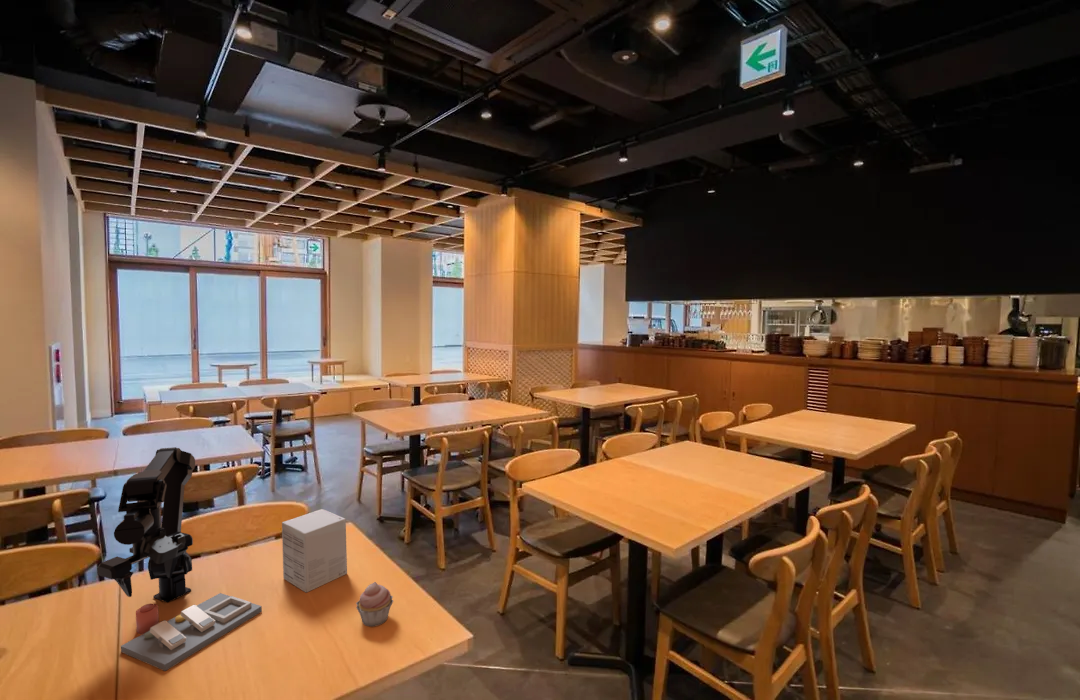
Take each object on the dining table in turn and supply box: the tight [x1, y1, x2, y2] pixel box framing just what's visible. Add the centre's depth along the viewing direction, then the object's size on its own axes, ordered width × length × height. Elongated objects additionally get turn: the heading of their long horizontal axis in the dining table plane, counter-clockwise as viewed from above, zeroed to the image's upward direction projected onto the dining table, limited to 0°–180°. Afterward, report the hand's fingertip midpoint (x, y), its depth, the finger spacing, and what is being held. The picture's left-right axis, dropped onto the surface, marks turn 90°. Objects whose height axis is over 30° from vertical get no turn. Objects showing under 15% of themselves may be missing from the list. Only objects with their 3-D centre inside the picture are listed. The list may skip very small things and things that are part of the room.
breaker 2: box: [180, 604, 215, 632], centre depth 124 cm, size 8×4×1 cm, turn 68°
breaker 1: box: [150, 619, 186, 650], centre depth 118 cm, size 8×4×1 cm, turn 68°
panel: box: [120, 592, 263, 672], centre depth 125 cm, size 16×24×3 cm, turn 158°
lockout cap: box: [135, 603, 160, 635], centre depth 125 cm, size 4×4×6 cm
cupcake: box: [355, 581, 394, 628], centre depth 130 cm, size 9×9×10 cm
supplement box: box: [281, 508, 348, 593], centre depth 150 cm, size 13×13×18 cm
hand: (150, 586), depth 125 cm, fingers open, 9 cm apart
